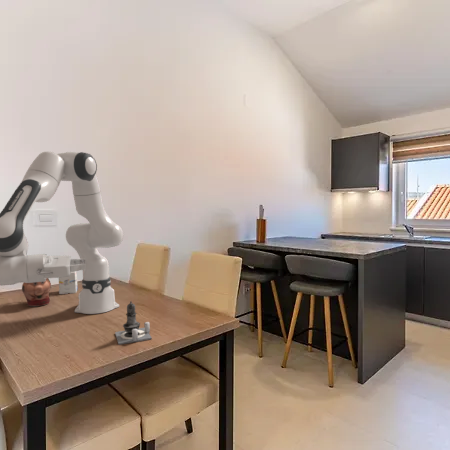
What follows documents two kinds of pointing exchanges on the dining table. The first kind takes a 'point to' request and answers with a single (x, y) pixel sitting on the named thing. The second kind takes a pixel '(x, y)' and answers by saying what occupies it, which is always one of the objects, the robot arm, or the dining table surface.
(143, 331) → the pin socket board
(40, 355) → the dining table surface
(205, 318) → the dining table surface
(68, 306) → the dining table surface
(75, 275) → the ink box
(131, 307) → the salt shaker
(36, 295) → the decorative planter
